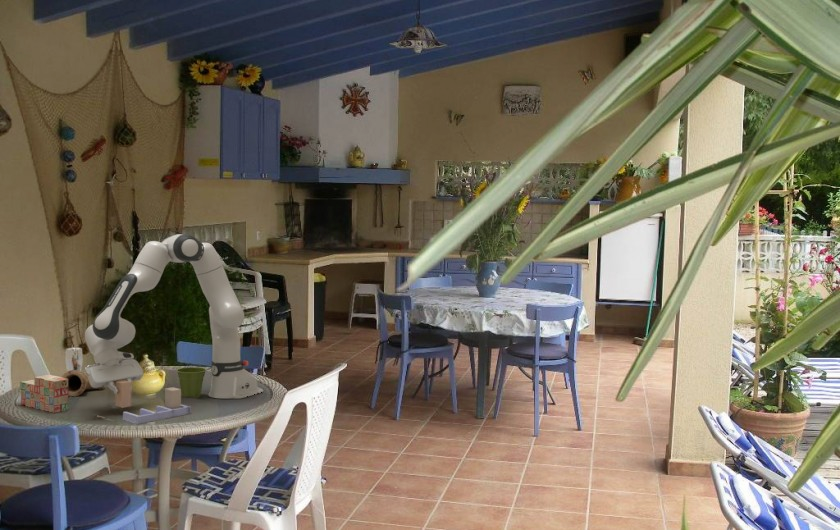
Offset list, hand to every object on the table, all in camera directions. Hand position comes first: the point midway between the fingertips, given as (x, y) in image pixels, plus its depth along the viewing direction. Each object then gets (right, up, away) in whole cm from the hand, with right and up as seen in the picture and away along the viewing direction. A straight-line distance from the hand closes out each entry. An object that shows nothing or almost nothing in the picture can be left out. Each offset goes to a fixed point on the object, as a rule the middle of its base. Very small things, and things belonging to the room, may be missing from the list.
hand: (123, 391), depth 327 cm
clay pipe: (-29, -6, +38) cm, 49 cm away
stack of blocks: (-34, -8, +12) cm, 37 cm away
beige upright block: (+17, -8, +3) cm, 19 cm away
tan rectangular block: (0, -5, +1) cm, 5 cm away
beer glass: (-40, -5, +56) cm, 69 cm away
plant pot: (+16, -7, +33) cm, 38 cm away
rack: (+13, -10, -2) cm, 16 cm away
